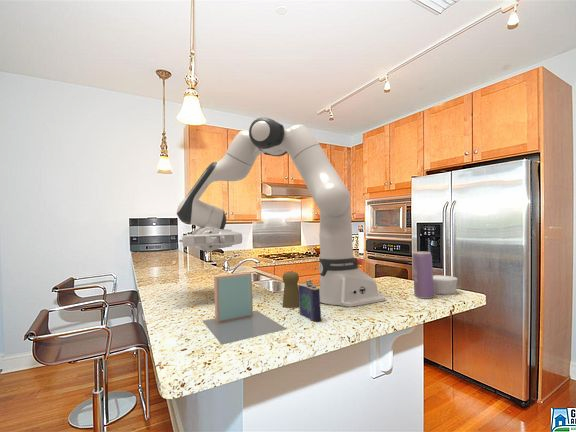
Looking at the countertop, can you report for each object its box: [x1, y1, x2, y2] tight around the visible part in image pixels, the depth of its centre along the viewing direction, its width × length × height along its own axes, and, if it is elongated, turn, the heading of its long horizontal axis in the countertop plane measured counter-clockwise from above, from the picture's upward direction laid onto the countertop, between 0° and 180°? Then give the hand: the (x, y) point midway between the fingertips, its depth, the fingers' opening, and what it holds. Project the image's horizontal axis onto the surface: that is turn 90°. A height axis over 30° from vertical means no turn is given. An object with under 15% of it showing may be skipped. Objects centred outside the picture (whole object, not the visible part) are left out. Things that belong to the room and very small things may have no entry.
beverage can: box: [411, 251, 435, 300], centre depth 95 cm, size 6×6×15 cm
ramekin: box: [433, 274, 459, 296], centre depth 101 cm, size 11×11×5 cm
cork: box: [282, 271, 300, 309], centre depth 88 cm, size 6×6×11 cm
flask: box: [298, 278, 322, 323], centre depth 76 cm, size 9×3×11 cm, turn 26°
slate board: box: [202, 310, 288, 346], centre depth 72 cm, size 16×19×1 cm
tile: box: [213, 271, 254, 323], centre depth 77 cm, size 10×2×12 cm, turn 119°
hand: (218, 239), depth 91 cm, fingers closed
